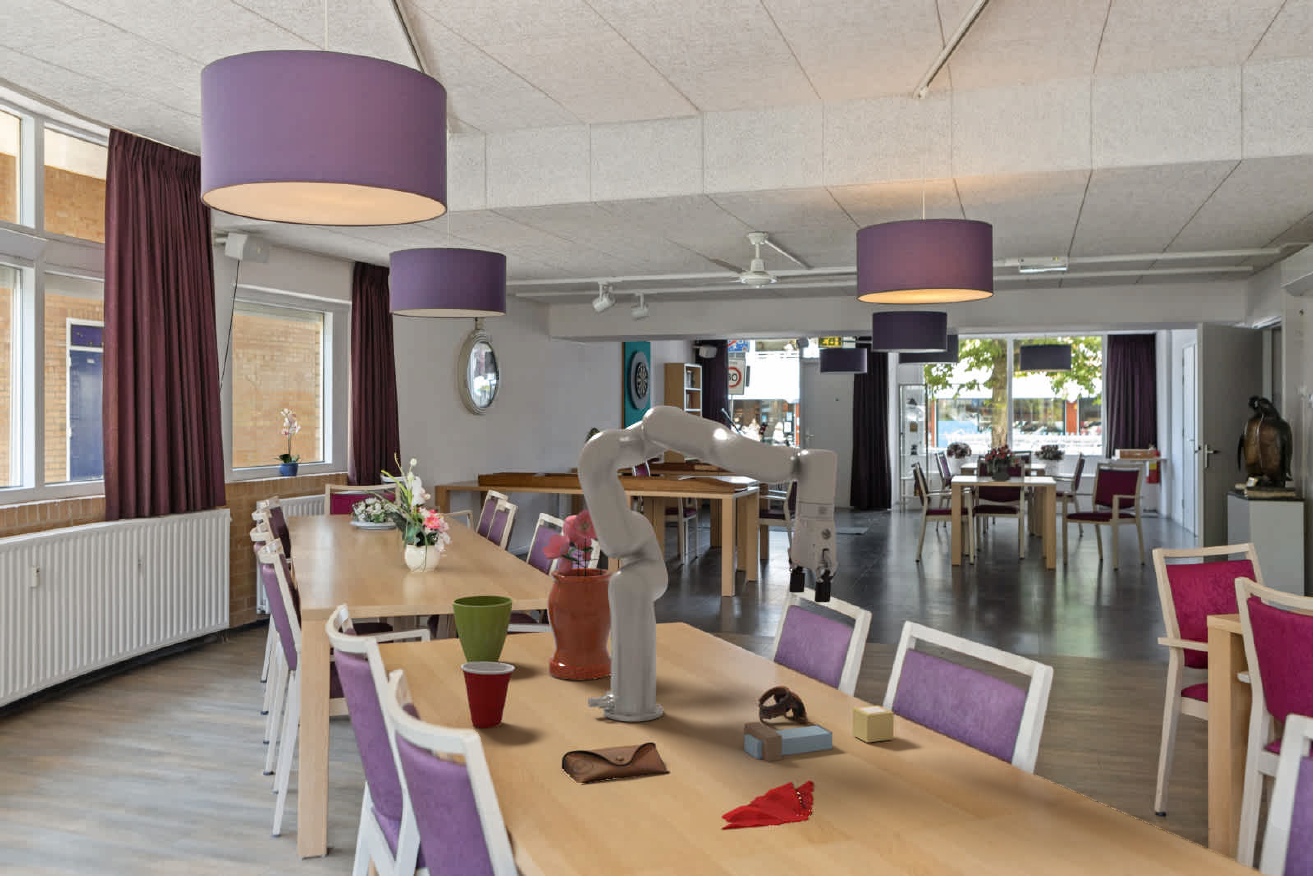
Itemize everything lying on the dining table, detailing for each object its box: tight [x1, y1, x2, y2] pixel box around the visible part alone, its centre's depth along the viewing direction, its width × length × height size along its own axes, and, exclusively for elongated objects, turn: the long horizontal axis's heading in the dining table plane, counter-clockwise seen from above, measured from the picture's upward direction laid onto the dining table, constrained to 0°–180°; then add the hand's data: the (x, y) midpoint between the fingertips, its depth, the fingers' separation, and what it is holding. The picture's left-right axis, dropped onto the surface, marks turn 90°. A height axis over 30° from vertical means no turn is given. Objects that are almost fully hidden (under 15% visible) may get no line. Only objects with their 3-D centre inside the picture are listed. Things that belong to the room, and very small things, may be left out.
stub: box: [851, 704, 895, 743], centre depth 196 cm, size 6×5×5 cm
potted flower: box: [542, 508, 613, 681], centre depth 245 cm, size 19×25×45 cm
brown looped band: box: [757, 685, 809, 725], centre depth 207 cm, size 12×10×8 cm
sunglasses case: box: [561, 741, 670, 784], centre depth 177 cm, size 18×7×7 cm
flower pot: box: [452, 595, 513, 663], centre depth 253 cm, size 15×15×16 cm
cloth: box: [720, 780, 814, 830], centre depth 161 cm, size 26×14×2 cm, turn 128°
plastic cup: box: [460, 662, 516, 729], centre depth 203 cm, size 11×11×12 cm
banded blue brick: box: [743, 721, 833, 762], centre depth 189 cm, size 16×9×4 cm, turn 112°
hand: (809, 597), depth 200 cm, fingers open, 9 cm apart
